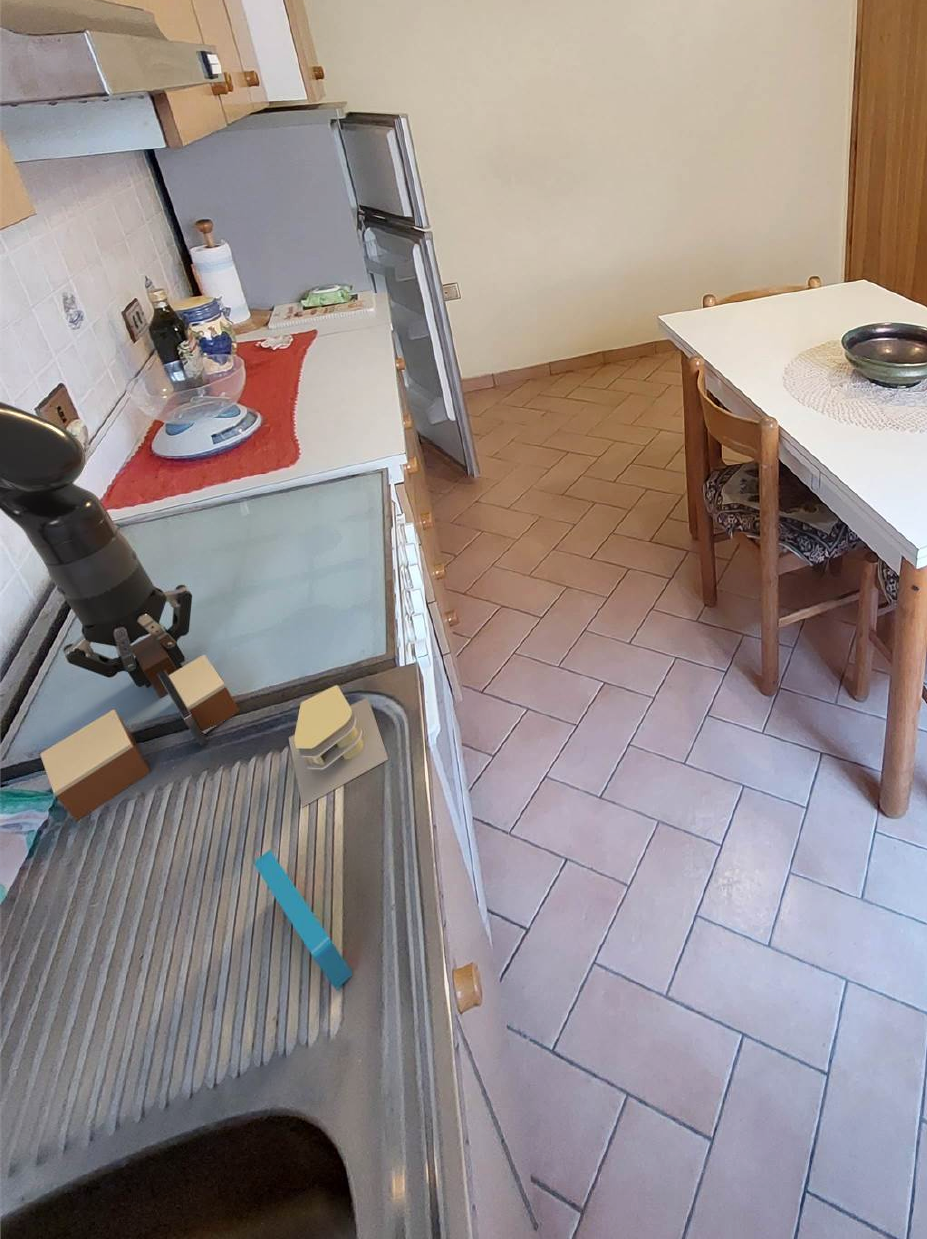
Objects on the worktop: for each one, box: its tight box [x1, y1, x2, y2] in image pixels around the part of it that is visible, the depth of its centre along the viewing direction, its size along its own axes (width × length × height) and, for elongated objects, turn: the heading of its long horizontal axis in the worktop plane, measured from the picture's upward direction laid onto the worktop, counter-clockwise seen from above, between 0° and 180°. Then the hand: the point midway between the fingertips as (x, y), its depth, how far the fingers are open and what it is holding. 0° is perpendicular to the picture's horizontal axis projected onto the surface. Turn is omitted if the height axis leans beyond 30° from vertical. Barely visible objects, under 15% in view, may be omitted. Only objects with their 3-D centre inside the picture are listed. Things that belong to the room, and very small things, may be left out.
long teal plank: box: [253, 849, 353, 991], centre depth 64 cm, size 12×2×6 cm, turn 50°
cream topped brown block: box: [169, 654, 240, 731], centre depth 87 cm, size 4×7×5 cm, turn 48°
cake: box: [39, 709, 152, 821], centre depth 80 cm, size 7×7×5 cm
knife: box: [131, 634, 209, 748], centre depth 88 cm, size 3×18×5 cm, turn 48°
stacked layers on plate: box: [288, 684, 389, 808], centre depth 80 cm, size 10×9×6 cm
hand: (162, 673), depth 92 cm, fingers closed on knife, 3 cm apart
